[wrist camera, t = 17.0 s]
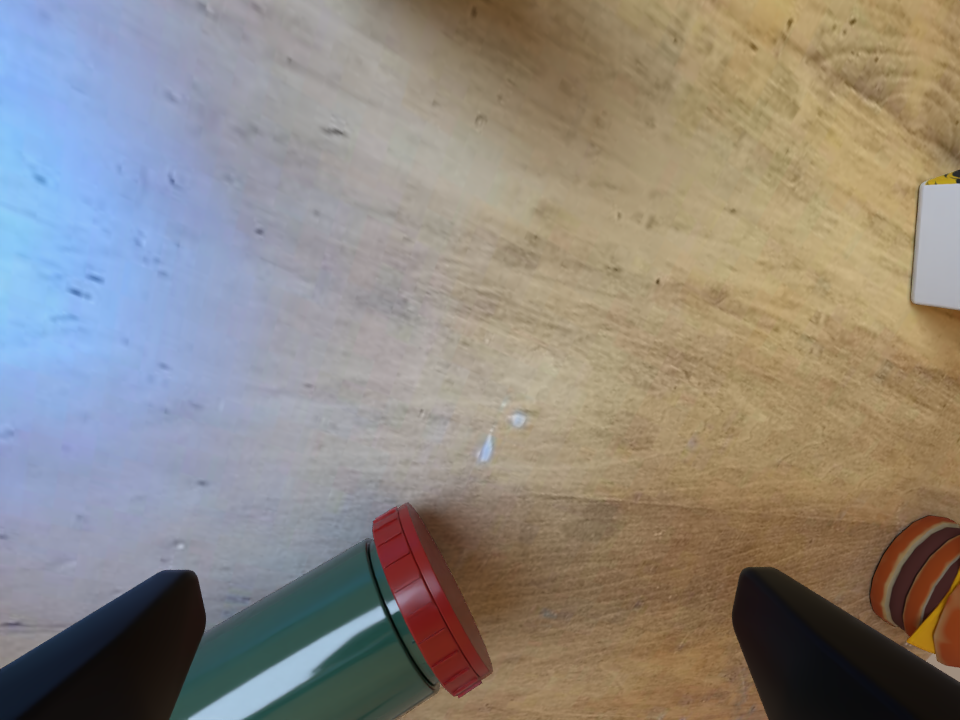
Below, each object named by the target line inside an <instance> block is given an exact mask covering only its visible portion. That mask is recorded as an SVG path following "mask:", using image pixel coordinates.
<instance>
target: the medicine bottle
mask: <svg viewBox="0 0 960 720" xmlns="http://www.w3.org/2000/svg"><path fill="white" fill-rule="evenodd" d="M911 301H912V302H913V303H915V304H918V305H925V306H932V307H939V308H946V309H953V310H960V170H957V171H954V172H951V173H948V174H945V175H942V176H939V177H936V178H933V179H930V180H927V181H925V182H923V183H922V184H921V185H920V188H919V199H918V212H917V224H916V237H915V250H914V263H913V275H912V288H911Z"/></svg>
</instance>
